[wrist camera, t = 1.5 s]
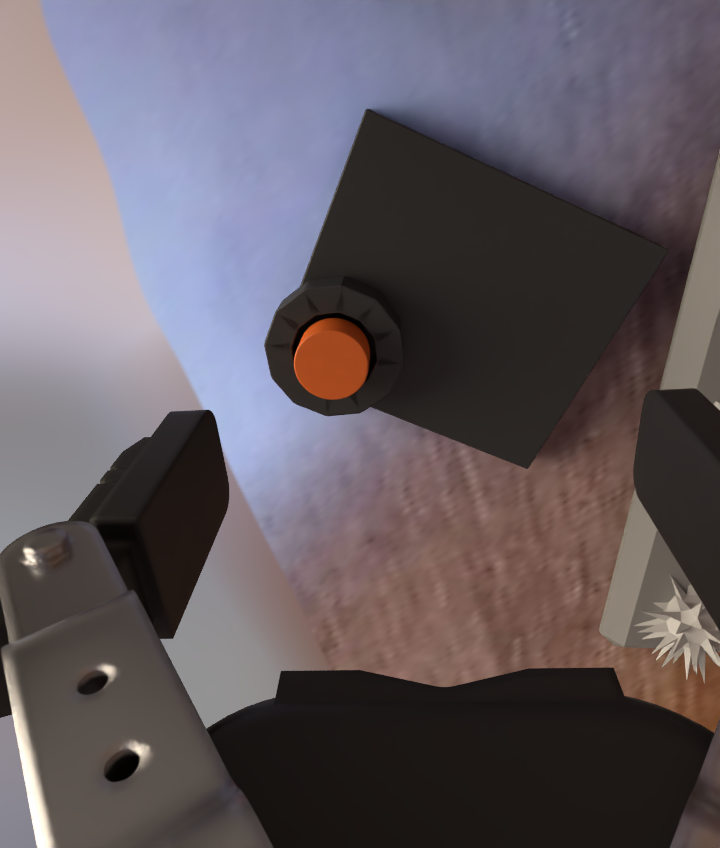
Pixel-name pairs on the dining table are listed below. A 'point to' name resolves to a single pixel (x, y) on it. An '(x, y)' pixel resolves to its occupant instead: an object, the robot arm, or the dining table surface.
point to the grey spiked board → (641, 543)
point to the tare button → (332, 359)
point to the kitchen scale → (461, 292)
